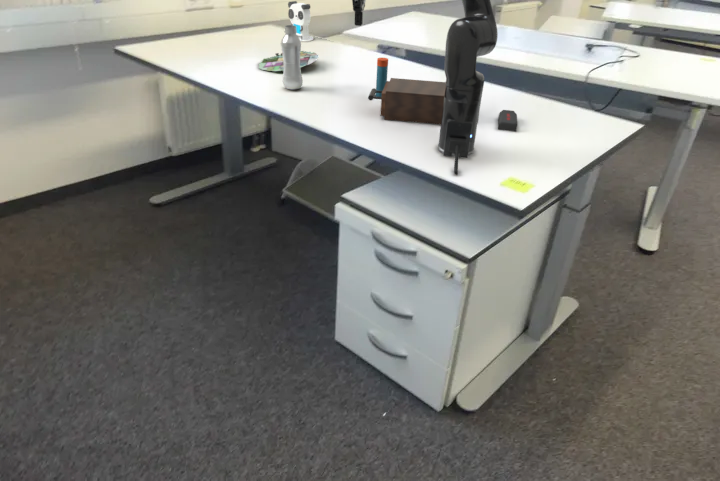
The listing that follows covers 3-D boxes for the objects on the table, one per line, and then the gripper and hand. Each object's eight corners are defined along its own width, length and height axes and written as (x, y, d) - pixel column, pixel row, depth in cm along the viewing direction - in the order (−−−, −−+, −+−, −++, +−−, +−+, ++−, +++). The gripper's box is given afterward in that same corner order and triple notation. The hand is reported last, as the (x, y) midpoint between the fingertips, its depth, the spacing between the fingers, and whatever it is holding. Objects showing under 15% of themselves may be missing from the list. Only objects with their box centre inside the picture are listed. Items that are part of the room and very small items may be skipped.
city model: (253, 63, 214) (250, 48, 211) (311, 53, 219) (309, 38, 216) (264, 83, 195) (261, 66, 191) (327, 71, 200) (325, 55, 196)
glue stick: (385, 98, 178) (387, 60, 171) (374, 97, 178) (376, 59, 172) (386, 94, 181) (388, 58, 174) (376, 93, 181) (378, 57, 175)
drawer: (366, 114, 162) (367, 92, 158) (371, 101, 172) (372, 79, 168) (439, 120, 159) (442, 98, 155) (440, 107, 169) (443, 85, 166)
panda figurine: (282, 37, 245) (280, 1, 237) (302, 34, 251) (301, -1, 243) (298, 42, 238) (297, 6, 229) (318, 39, 244) (318, 3, 236)
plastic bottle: (303, 91, 181) (302, 28, 170) (283, 91, 180) (280, 28, 169) (302, 85, 186) (300, 24, 175) (282, 86, 185) (279, 24, 174)
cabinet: (383, 119, 161) (385, 91, 156) (389, 104, 172) (390, 77, 168) (446, 125, 159) (450, 96, 154) (447, 109, 170) (451, 82, 165)
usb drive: (497, 129, 157) (499, 120, 156) (498, 115, 167) (499, 107, 165) (516, 131, 156) (517, 122, 155) (515, 117, 166) (517, 109, 165)
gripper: (351, -43, 159) (349, 20, 168) (343, -38, 148) (342, 28, 157) (376, -42, 158) (373, 21, 167) (370, -37, 147) (367, 30, 156)
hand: (358, 25), depth 162 cm, fingers closed
